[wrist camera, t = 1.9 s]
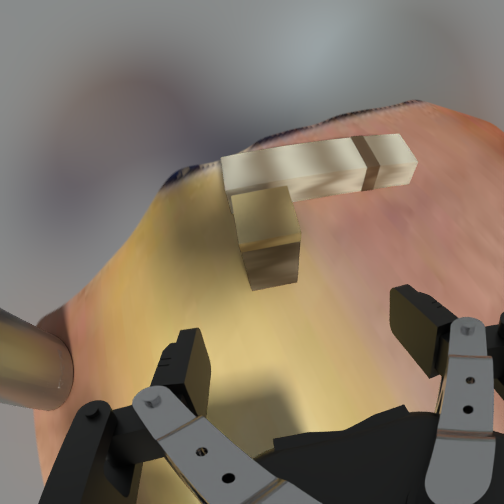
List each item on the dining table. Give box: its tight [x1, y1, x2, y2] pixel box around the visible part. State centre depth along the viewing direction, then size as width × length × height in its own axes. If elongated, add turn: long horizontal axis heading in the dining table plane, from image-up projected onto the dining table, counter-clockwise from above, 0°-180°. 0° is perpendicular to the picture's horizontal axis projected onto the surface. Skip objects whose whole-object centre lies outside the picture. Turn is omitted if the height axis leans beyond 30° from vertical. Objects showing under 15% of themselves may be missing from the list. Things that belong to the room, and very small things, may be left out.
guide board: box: [221, 134, 418, 214], centre depth 33 cm, size 22×5×4 cm, turn 99°
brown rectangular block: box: [231, 186, 301, 291], centre depth 26 cm, size 4×4×9 cm
